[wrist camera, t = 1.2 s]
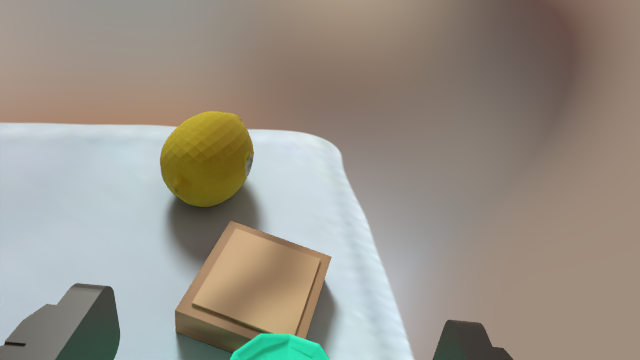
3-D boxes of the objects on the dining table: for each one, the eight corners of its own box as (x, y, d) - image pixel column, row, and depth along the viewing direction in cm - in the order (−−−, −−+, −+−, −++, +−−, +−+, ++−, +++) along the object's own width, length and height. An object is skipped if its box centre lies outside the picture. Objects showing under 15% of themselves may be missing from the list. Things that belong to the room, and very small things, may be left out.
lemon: (207, 241, 37) (211, 174, 32) (137, 201, 38) (130, 131, 33) (271, 176, 45) (282, 114, 39) (210, 145, 46) (214, 81, 41)
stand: (175, 331, 30) (175, 308, 28) (228, 242, 37) (230, 218, 35) (291, 376, 30) (300, 355, 28) (323, 277, 37) (332, 255, 35)
